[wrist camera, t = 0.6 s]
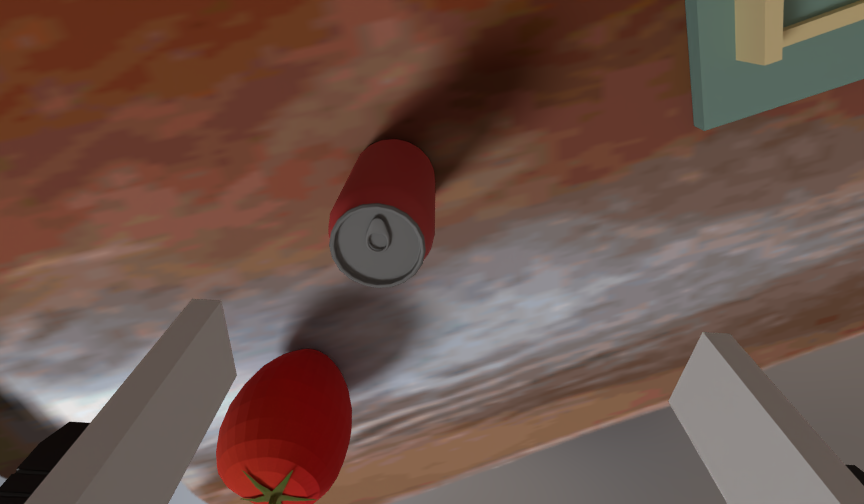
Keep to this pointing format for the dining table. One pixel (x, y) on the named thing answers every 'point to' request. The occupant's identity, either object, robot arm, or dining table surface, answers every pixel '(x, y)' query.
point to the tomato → (286, 431)
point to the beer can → (384, 215)
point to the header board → (769, 53)
